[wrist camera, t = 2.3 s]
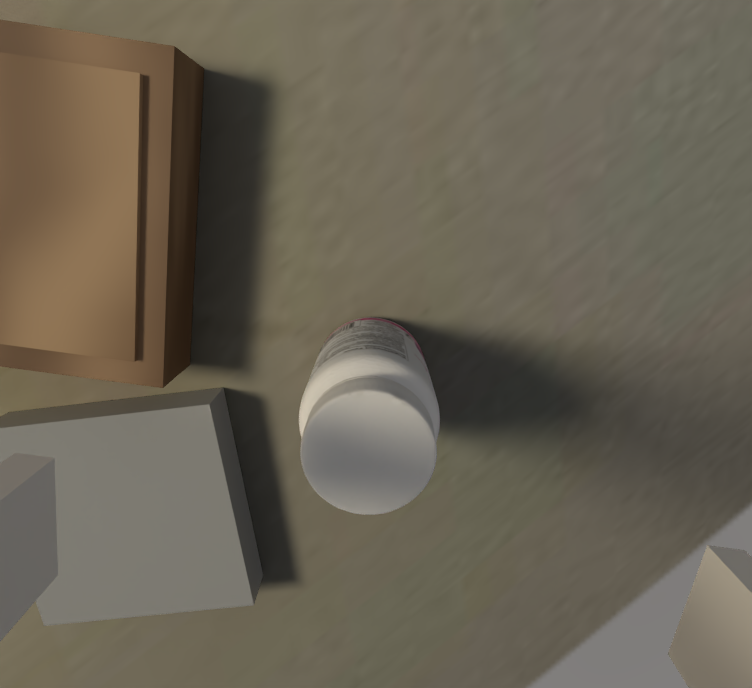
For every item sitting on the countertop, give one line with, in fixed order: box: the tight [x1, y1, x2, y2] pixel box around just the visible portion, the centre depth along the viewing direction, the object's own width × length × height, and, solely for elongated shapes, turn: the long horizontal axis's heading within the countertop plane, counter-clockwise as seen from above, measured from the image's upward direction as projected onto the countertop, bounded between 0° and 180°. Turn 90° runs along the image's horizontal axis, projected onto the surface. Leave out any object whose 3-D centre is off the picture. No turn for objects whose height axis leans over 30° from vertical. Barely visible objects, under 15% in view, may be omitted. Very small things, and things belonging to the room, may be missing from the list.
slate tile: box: [0, 388, 263, 626], centre depth 24 cm, size 10×10×2 cm
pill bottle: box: [299, 317, 440, 515], centre depth 19 cm, size 5×5×8 cm
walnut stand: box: [0, 20, 204, 388], centre depth 20 cm, size 12×12×3 cm
